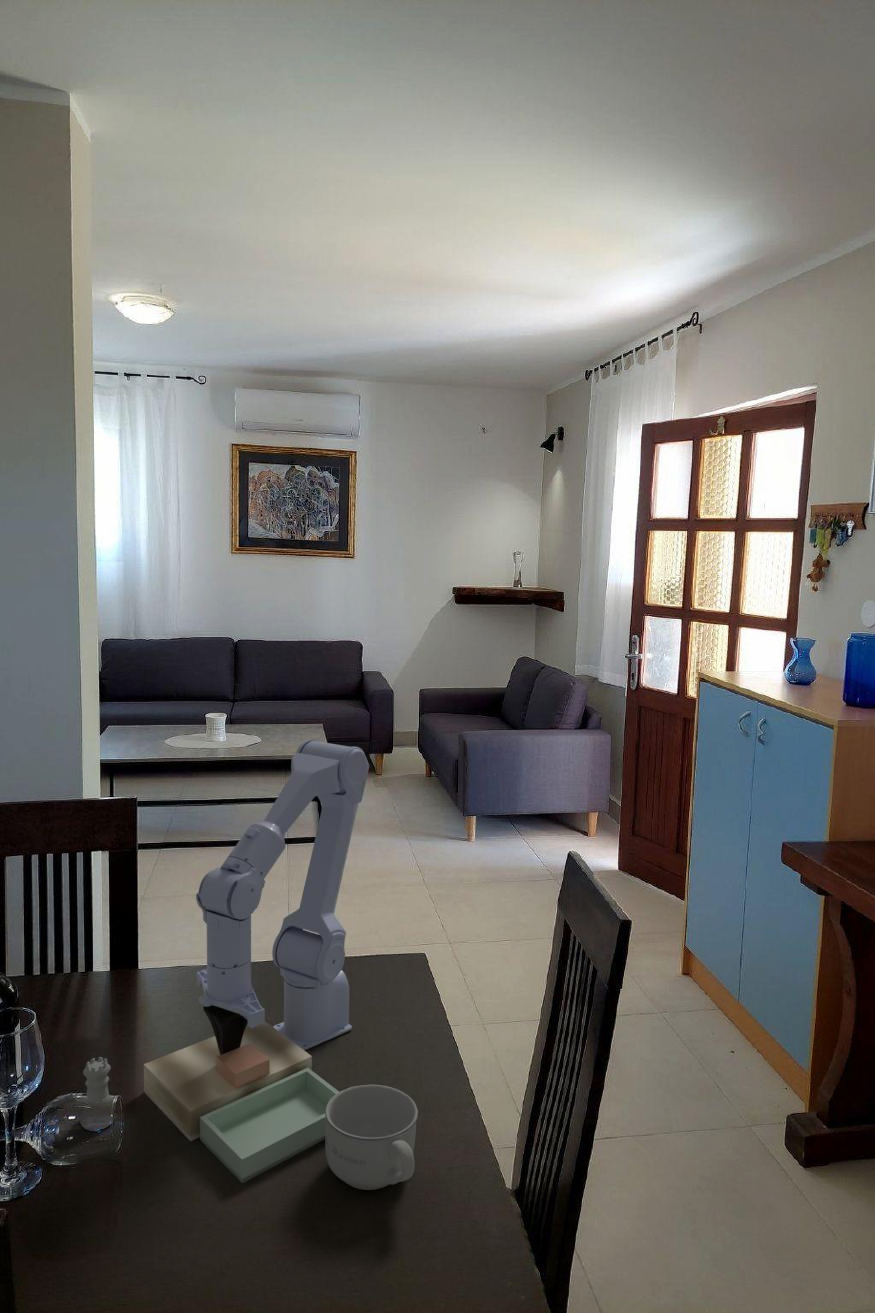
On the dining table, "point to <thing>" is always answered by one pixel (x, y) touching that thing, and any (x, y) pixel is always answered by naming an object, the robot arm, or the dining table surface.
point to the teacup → (371, 1136)
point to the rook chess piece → (97, 1079)
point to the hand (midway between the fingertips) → (229, 1054)
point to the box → (268, 1124)
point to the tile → (243, 1065)
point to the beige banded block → (215, 1076)
